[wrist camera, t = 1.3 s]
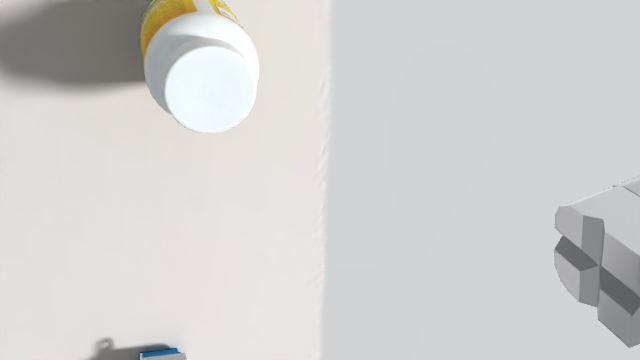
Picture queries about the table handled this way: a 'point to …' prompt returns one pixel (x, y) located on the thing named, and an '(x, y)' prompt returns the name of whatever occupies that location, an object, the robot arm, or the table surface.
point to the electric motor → (163, 355)
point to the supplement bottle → (199, 63)
